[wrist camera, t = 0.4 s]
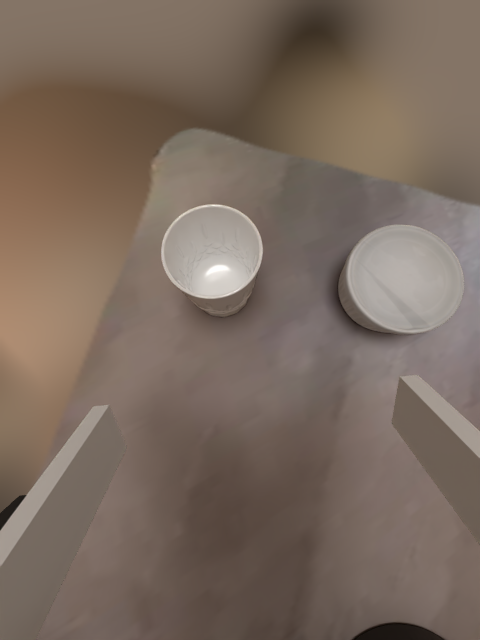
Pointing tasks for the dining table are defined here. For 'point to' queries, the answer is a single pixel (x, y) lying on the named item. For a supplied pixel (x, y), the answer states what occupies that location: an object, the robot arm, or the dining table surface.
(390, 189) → the dining table surface
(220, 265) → the white cup
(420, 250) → the ramekin
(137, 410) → the dining table surface
